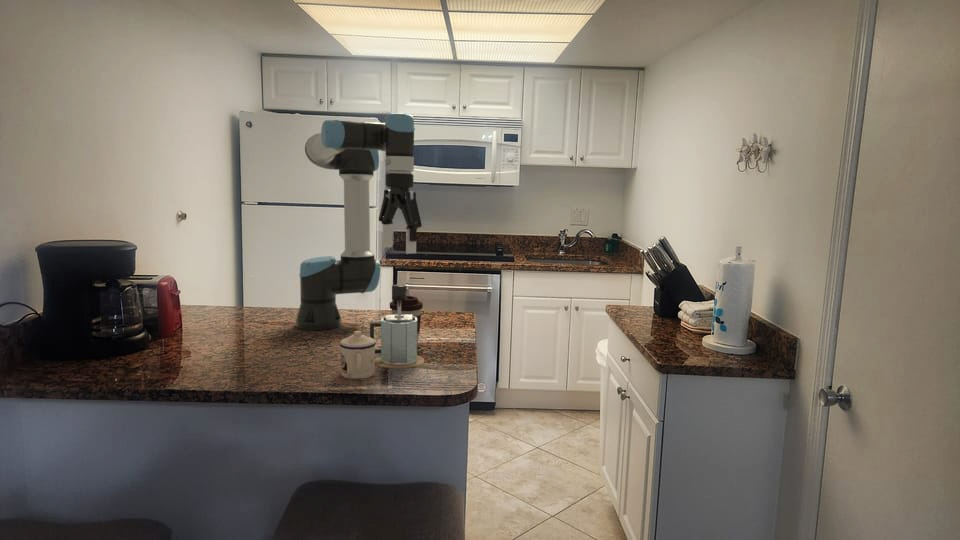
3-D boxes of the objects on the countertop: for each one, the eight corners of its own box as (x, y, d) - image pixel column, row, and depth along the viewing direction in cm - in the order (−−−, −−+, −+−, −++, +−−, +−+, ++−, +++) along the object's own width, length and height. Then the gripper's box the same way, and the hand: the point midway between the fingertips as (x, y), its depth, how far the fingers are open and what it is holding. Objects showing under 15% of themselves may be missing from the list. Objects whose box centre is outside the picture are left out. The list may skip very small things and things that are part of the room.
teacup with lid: (340, 370, 160) (339, 327, 159) (374, 368, 162) (374, 326, 161) (340, 385, 149) (339, 339, 147) (377, 383, 151) (377, 338, 149)
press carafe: (371, 355, 172) (371, 313, 170) (416, 355, 174) (417, 312, 172) (369, 366, 162) (369, 321, 160) (417, 365, 164) (417, 321, 162)
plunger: (385, 348, 171) (385, 283, 168) (412, 347, 172) (413, 283, 169) (384, 355, 164) (384, 288, 161) (413, 355, 165) (413, 288, 162)
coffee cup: (416, 351, 180) (416, 301, 177) (385, 348, 181) (384, 299, 179) (426, 342, 189) (426, 295, 187) (396, 340, 191) (396, 293, 189)
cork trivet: (365, 360, 170) (365, 358, 170) (408, 352, 178) (408, 350, 178) (388, 373, 159) (388, 371, 158) (433, 365, 167) (433, 362, 167)
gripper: (366, 171, 171) (367, 245, 175) (409, 173, 151) (409, 257, 155) (390, 171, 176) (390, 244, 179) (435, 173, 156) (434, 255, 159)
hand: (398, 250), depth 167 cm, fingers open, 13 cm apart
